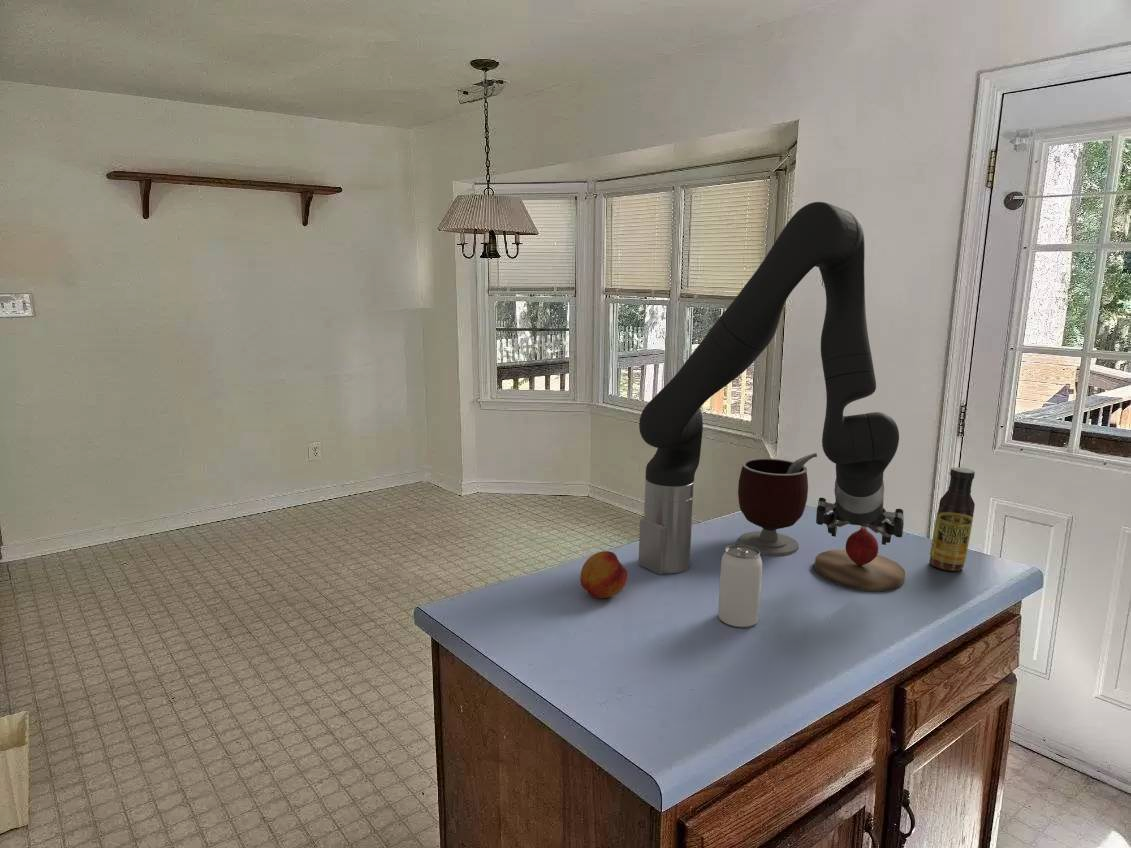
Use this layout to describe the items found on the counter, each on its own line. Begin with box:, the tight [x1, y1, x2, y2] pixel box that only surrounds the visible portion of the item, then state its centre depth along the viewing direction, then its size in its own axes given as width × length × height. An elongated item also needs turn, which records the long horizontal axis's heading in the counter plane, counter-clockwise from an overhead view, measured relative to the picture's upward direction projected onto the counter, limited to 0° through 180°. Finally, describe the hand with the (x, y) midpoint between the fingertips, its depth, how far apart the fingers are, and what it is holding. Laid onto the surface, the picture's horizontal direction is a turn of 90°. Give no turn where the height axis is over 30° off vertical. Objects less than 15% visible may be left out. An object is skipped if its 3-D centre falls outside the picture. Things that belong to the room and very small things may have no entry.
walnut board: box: [814, 549, 906, 592], centre depth 139 cm, size 16×16×2 cm
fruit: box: [579, 550, 629, 599], centre depth 127 cm, size 8×8×8 cm
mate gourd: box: [737, 452, 818, 557], centre depth 151 cm, size 16×14×20 cm
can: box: [717, 544, 763, 629], centre depth 118 cm, size 6×6×12 cm
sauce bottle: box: [929, 466, 976, 572], centre depth 140 cm, size 7×6×20 cm
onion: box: [845, 526, 879, 566], centre depth 137 cm, size 6×6×8 cm
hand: (858, 536), depth 132 cm, fingers open, 8 cm apart
